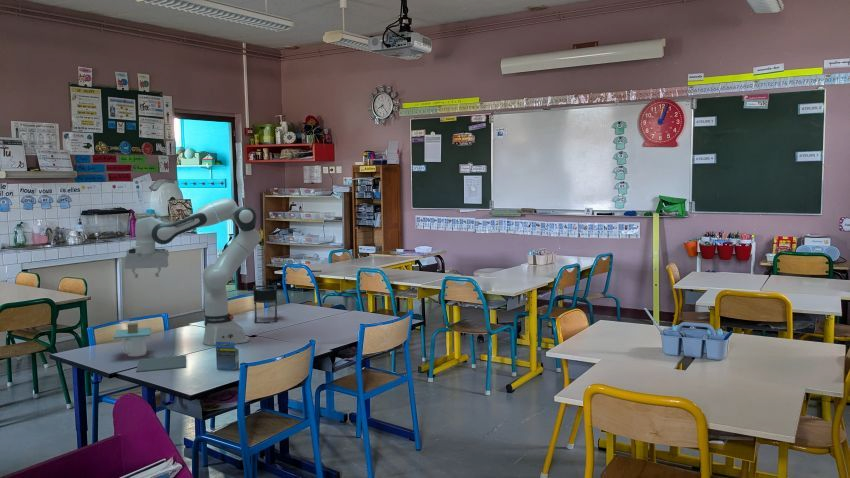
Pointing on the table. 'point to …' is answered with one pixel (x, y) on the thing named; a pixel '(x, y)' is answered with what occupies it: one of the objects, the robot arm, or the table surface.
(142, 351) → the mug
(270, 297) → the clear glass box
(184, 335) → the table surface
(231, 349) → the label tape cartridge
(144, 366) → the mat
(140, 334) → the lid
